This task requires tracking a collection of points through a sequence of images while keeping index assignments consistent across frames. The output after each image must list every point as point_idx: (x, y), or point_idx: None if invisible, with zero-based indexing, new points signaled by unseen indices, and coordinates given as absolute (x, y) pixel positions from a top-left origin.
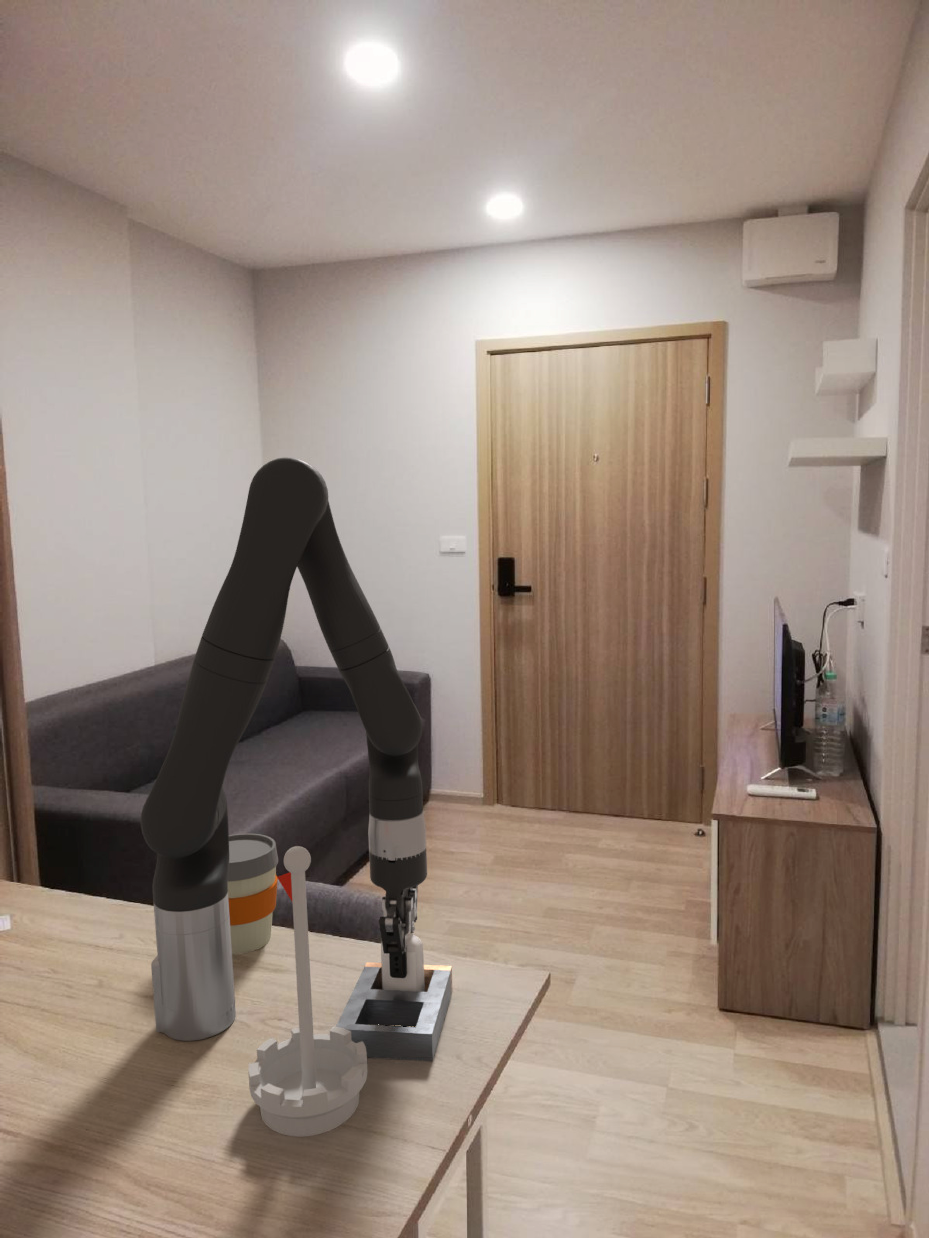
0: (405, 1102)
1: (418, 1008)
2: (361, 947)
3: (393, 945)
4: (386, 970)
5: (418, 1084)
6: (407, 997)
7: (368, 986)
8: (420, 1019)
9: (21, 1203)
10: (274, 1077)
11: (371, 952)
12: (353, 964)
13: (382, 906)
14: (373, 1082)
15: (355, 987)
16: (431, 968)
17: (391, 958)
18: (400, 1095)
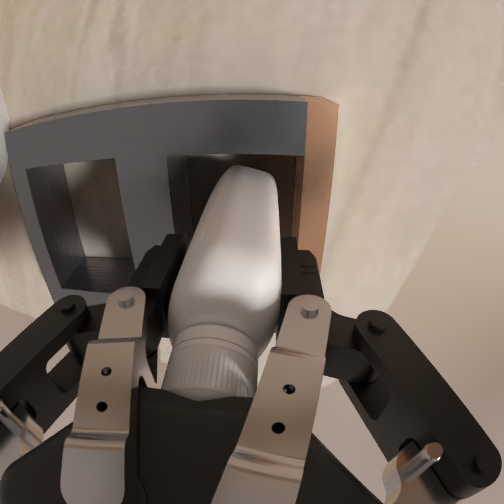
0: (6, 256)
1: None
2: (499, 74)
3: (70, 346)
4: (205, 211)
5: (34, 267)
6: None
7: (180, 144)
8: (85, 293)
9: None
10: None
11: (480, 97)
12: (430, 50)
13: (66, 455)
14: (13, 206)
15: (167, 105)
16: None
17: (130, 283)
18: (11, 248)
